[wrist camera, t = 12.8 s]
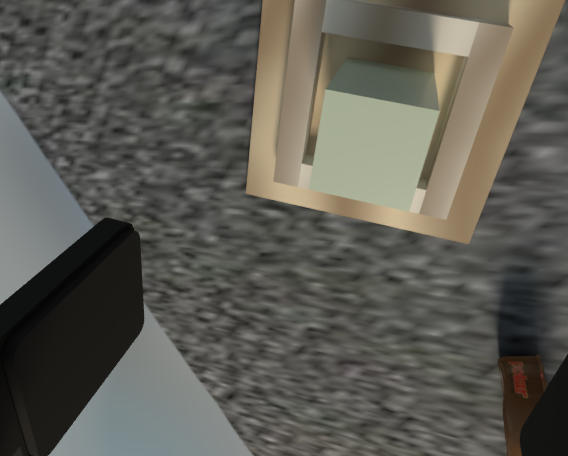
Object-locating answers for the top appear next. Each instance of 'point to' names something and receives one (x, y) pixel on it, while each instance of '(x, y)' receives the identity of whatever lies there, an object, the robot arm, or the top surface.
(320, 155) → the pale green block
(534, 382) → the tin
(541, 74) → the top surface
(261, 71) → the end holder
